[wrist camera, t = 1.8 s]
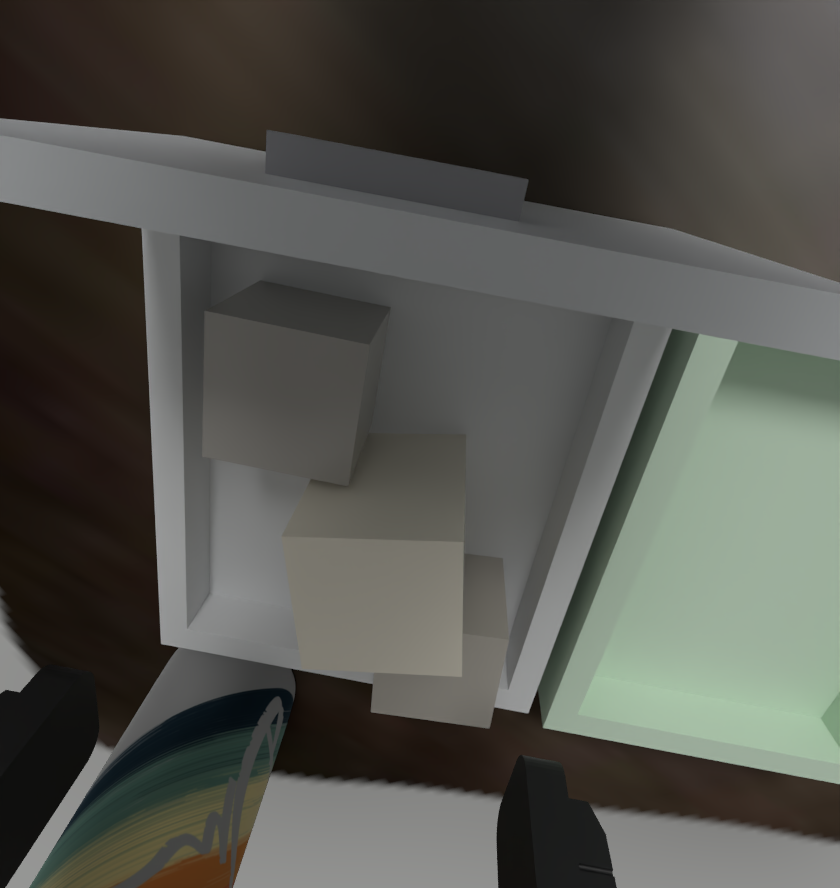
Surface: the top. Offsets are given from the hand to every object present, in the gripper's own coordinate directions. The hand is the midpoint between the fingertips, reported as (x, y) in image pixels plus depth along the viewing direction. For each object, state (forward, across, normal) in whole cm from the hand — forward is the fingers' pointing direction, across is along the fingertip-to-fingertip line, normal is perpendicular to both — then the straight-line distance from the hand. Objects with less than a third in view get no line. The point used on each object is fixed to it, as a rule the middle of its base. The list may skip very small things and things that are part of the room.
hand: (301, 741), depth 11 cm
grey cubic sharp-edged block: (+10, +2, -4) cm, 11 cm away
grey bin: (+11, 0, 0) cm, 11 cm away
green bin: (+11, -14, 0) cm, 17 cm away
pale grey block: (+10, -3, +4) cm, 12 cm away
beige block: (+10, -1, 0) cm, 10 cm away
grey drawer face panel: (+10, 0, -9) cm, 14 cm away
